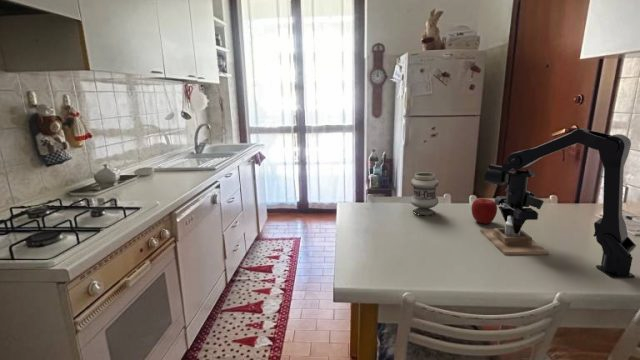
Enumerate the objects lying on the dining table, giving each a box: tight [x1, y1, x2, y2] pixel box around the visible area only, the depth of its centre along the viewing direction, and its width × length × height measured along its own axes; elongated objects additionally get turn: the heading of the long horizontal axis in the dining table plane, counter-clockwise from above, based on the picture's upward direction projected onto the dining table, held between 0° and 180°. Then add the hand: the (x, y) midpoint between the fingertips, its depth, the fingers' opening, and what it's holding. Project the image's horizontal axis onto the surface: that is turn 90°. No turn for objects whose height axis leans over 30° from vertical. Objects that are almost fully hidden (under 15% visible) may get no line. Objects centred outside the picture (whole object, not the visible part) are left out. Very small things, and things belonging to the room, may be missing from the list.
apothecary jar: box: [410, 171, 440, 217], centre depth 156 cm, size 12×12×18 cm
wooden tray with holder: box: [479, 227, 549, 256], centre depth 124 cm, size 20×14×4 cm
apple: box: [471, 198, 498, 225], centre depth 143 cm, size 10×10×10 cm
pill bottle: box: [504, 215, 522, 237], centre depth 123 cm, size 5×5×8 cm
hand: (512, 230), depth 123 cm, fingers open, 5 cm apart
